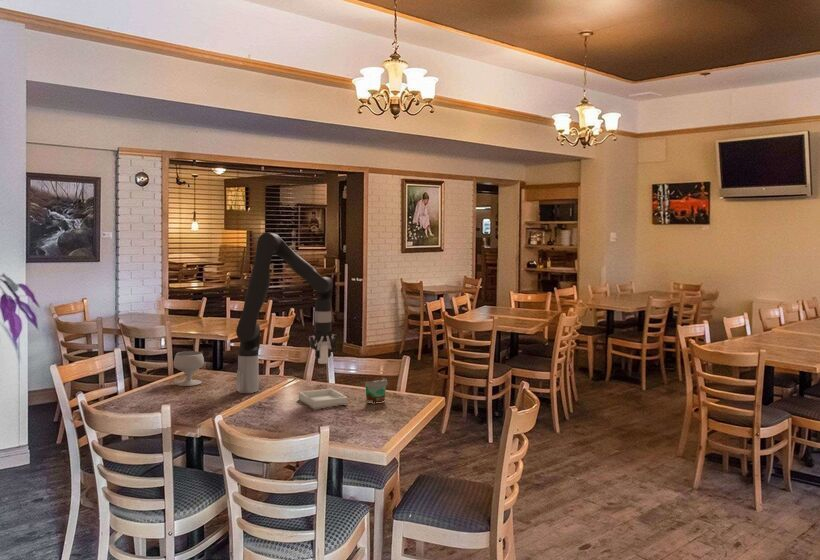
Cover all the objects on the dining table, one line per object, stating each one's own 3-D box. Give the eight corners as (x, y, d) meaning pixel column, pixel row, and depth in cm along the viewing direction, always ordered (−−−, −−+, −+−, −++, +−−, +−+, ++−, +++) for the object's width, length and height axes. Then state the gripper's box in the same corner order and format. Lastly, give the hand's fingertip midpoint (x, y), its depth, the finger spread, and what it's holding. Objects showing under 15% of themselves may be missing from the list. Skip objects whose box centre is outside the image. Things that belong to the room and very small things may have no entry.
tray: (314, 409, 271) (314, 401, 271) (298, 399, 286) (298, 392, 286) (347, 405, 279) (347, 397, 279) (331, 396, 294) (331, 388, 294)
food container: (375, 406, 278) (375, 383, 277) (364, 404, 282) (364, 381, 281) (392, 401, 288) (393, 379, 287) (382, 398, 291) (382, 376, 291)
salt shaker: (320, 364, 291) (320, 342, 291) (316, 362, 295) (316, 340, 294) (329, 363, 294) (329, 341, 293) (325, 361, 298) (325, 339, 297)
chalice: (199, 379, 322) (199, 349, 321) (207, 385, 311) (207, 354, 309) (170, 382, 314) (170, 352, 313) (178, 388, 303) (177, 357, 302)
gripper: (333, 318, 300) (333, 355, 301) (305, 320, 292) (305, 357, 294) (341, 320, 294) (340, 357, 295) (312, 322, 286) (311, 360, 287)
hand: (323, 357), depth 294 cm, fingers closed on salt shaker, 4 cm apart
